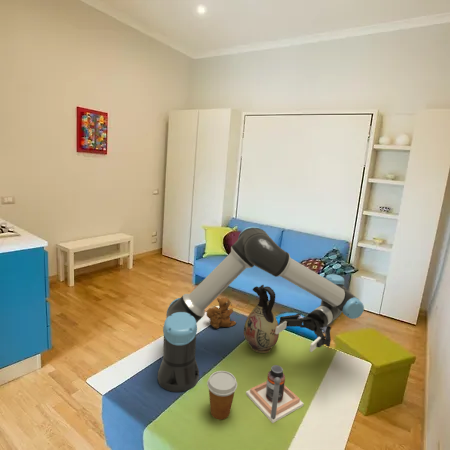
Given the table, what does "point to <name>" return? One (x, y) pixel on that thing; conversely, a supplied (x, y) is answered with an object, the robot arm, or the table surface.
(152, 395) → the table surface
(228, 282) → the robot arm
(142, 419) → the table surface
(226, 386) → the disposable coffee cup
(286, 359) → the table surface
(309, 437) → the table surface
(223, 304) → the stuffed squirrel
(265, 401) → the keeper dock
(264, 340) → the ceramic jug
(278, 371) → the supplement bottle
